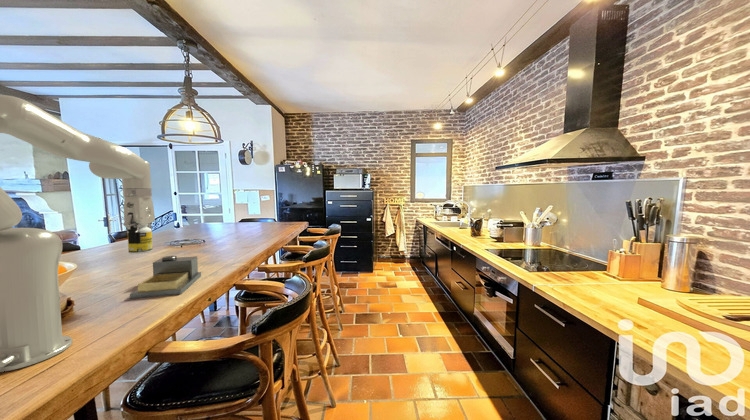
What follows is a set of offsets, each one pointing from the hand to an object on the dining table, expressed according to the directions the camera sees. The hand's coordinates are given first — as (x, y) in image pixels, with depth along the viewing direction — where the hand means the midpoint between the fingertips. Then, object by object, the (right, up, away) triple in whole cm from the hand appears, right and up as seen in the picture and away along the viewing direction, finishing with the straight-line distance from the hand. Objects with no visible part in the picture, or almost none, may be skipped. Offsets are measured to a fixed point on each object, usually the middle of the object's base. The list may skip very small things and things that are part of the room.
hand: (140, 240), depth 90 cm
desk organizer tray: (0, -21, +13) cm, 25 cm away
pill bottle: (0, -5, 0) cm, 5 cm away
